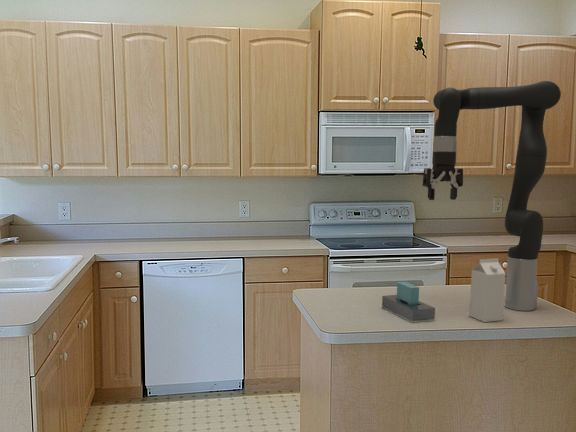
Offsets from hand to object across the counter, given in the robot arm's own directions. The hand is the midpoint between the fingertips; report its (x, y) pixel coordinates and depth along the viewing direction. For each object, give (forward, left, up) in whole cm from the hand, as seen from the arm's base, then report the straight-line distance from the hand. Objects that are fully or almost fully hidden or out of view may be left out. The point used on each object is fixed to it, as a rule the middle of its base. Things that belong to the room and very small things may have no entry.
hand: (442, 199), depth 189 cm
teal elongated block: (+15, +5, -36) cm, 39 cm away
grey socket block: (+15, +5, -36) cm, 39 cm away
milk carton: (-6, +17, -36) cm, 41 cm away
